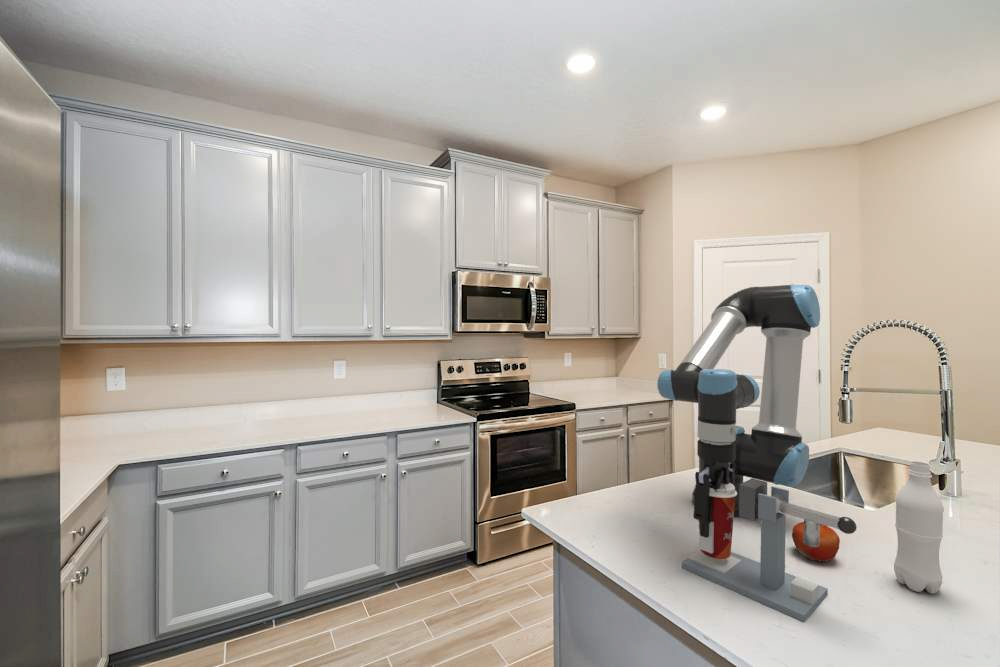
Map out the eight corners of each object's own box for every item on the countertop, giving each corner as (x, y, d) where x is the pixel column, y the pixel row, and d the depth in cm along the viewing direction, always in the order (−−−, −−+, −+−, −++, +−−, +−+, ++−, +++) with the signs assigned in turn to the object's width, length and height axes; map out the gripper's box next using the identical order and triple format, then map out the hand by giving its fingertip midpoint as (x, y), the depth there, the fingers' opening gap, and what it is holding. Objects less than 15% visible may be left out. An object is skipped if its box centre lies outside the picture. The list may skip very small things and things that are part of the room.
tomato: (826, 571, 97) (826, 534, 97) (782, 551, 105) (783, 517, 105) (849, 560, 101) (849, 525, 101) (805, 543, 109) (806, 510, 109)
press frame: (681, 567, 98) (683, 478, 98) (710, 549, 106) (711, 466, 106) (804, 622, 80) (806, 512, 80) (827, 594, 88) (829, 495, 88)
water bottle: (884, 577, 94) (886, 458, 94) (915, 575, 95) (918, 457, 95) (918, 598, 87) (921, 469, 87) (952, 596, 88) (955, 468, 87)
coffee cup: (741, 563, 94) (742, 492, 94) (699, 559, 96) (700, 489, 95) (729, 544, 102) (730, 478, 102) (690, 541, 104) (691, 476, 104)
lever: (738, 526, 92) (739, 484, 92) (751, 518, 96) (751, 478, 96) (850, 564, 78) (851, 514, 78) (860, 553, 81) (861, 505, 81)
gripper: (711, 452, 89) (709, 567, 90) (754, 436, 102) (752, 537, 102) (675, 444, 95) (674, 552, 95) (720, 430, 108) (719, 526, 108)
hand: (715, 544), depth 99 cm, fingers closed on coffee cup, 7 cm apart
